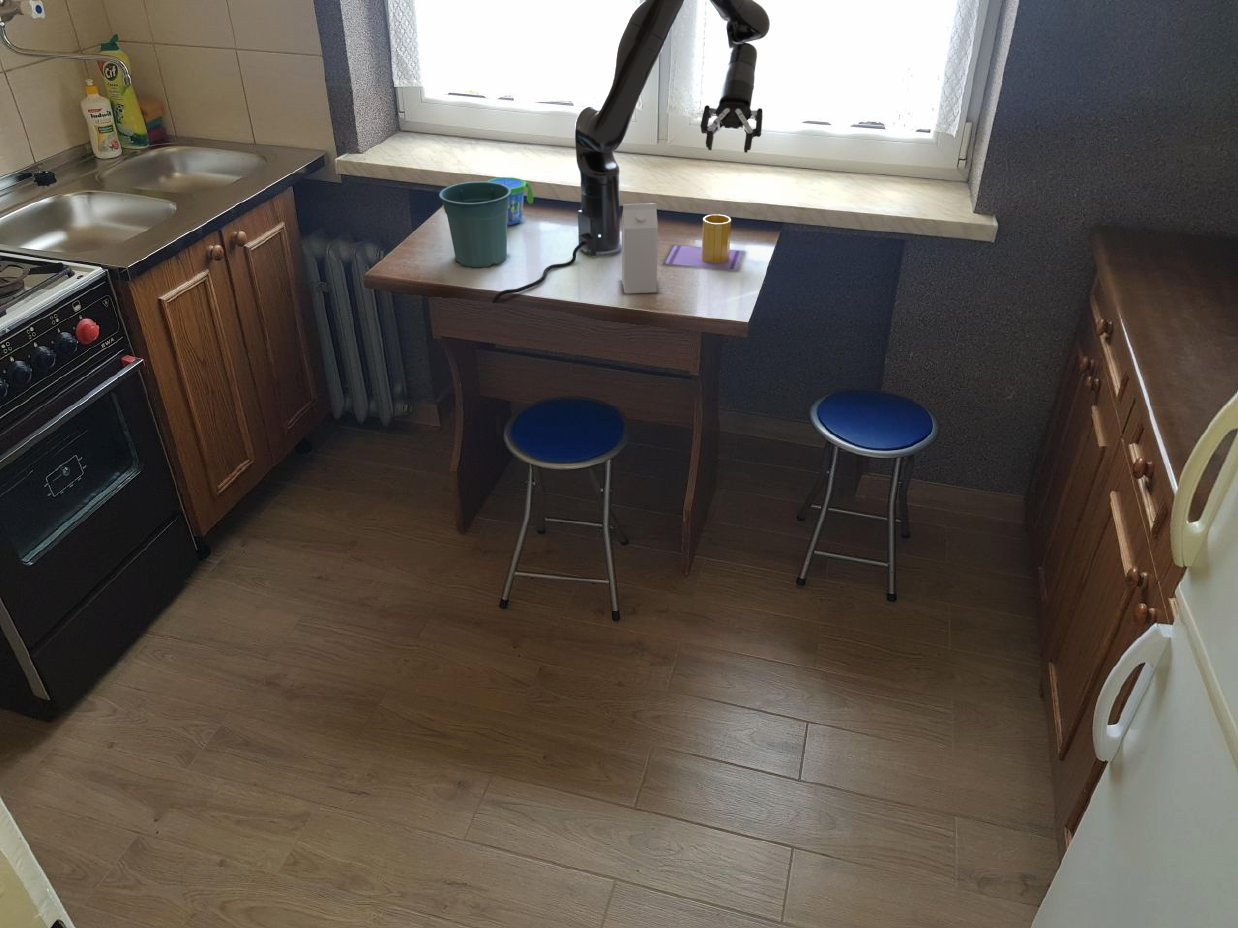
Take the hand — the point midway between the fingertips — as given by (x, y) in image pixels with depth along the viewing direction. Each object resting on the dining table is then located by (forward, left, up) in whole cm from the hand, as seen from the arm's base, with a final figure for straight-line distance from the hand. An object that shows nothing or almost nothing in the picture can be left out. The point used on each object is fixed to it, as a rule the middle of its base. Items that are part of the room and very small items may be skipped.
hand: (727, 149), depth 224 cm
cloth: (-10, -6, -23) cm, 26 cm away
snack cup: (-38, +42, -23) cm, 61 cm away
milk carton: (-33, -12, -23) cm, 41 cm away
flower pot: (-55, +23, -23) cm, 64 cm away
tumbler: (-8, -8, -22) cm, 25 cm away
